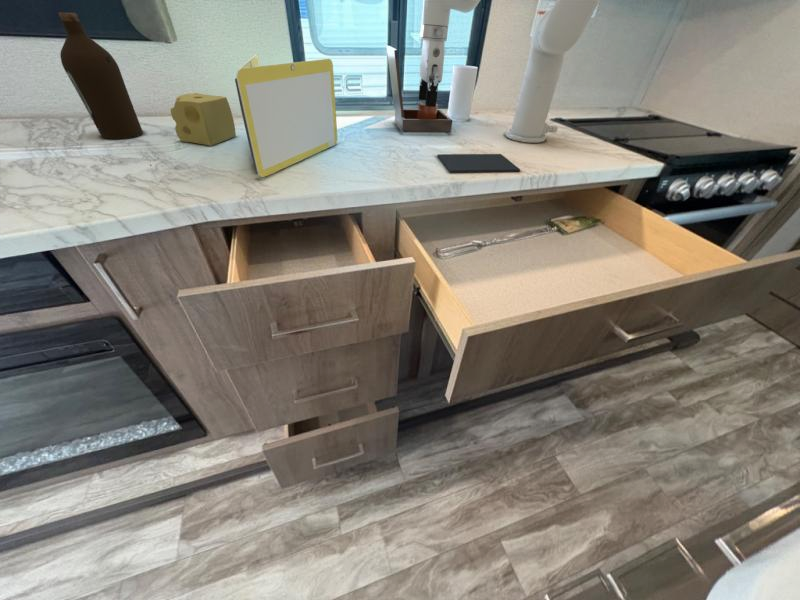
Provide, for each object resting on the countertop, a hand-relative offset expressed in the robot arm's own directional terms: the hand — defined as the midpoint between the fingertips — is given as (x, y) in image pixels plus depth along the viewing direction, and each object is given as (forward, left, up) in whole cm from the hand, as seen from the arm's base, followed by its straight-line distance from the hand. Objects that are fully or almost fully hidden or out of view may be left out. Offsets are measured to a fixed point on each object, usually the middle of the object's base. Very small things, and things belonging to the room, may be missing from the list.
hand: (426, 102), depth 105 cm
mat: (-6, +34, -8) cm, 35 cm away
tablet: (+39, +25, -8) cm, 47 cm away
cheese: (+63, +12, -8) cm, 65 cm away
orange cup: (0, 0, -7) cm, 7 cm away
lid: (+10, 0, +5) cm, 11 cm away
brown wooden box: (+1, 0, -8) cm, 8 cm away
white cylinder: (-16, -14, -8) cm, 22 cm away
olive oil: (+86, +8, -8) cm, 87 cm away
